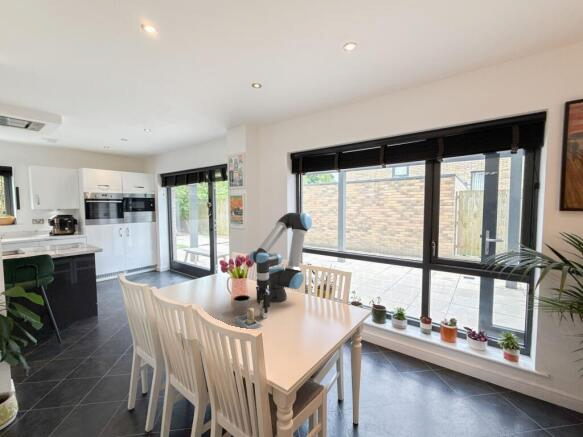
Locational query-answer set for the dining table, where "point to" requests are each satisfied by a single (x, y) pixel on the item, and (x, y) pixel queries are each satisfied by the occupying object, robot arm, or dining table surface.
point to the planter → (241, 304)
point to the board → (242, 323)
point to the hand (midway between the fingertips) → (263, 316)
